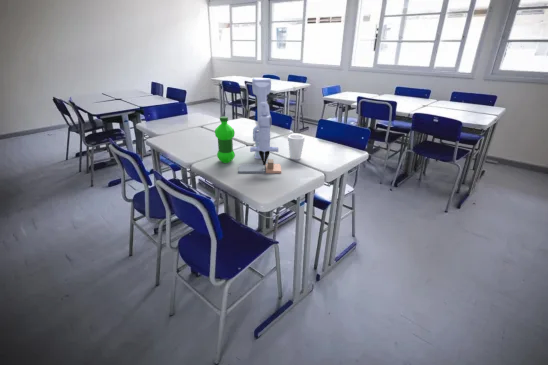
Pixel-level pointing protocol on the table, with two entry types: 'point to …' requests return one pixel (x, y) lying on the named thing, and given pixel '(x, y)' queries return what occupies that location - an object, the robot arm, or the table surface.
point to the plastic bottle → (225, 141)
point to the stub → (272, 167)
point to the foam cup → (295, 146)
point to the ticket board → (251, 168)
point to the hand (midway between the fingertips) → (264, 164)
